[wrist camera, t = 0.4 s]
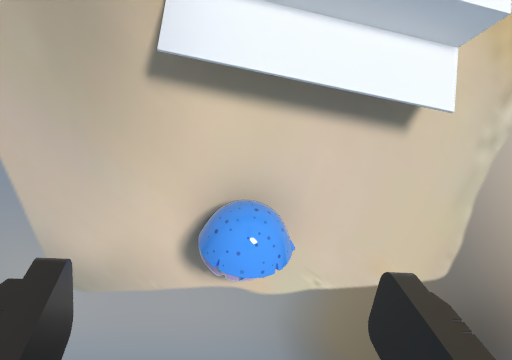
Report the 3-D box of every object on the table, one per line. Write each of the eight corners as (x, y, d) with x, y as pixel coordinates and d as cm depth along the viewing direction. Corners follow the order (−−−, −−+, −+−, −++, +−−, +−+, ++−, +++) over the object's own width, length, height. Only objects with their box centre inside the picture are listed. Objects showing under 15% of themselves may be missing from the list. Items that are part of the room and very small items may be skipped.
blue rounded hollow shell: (196, 254, 52) (190, 323, 44) (203, 175, 45) (198, 240, 37) (277, 259, 53) (285, 327, 45) (297, 183, 46) (310, 248, 38)
